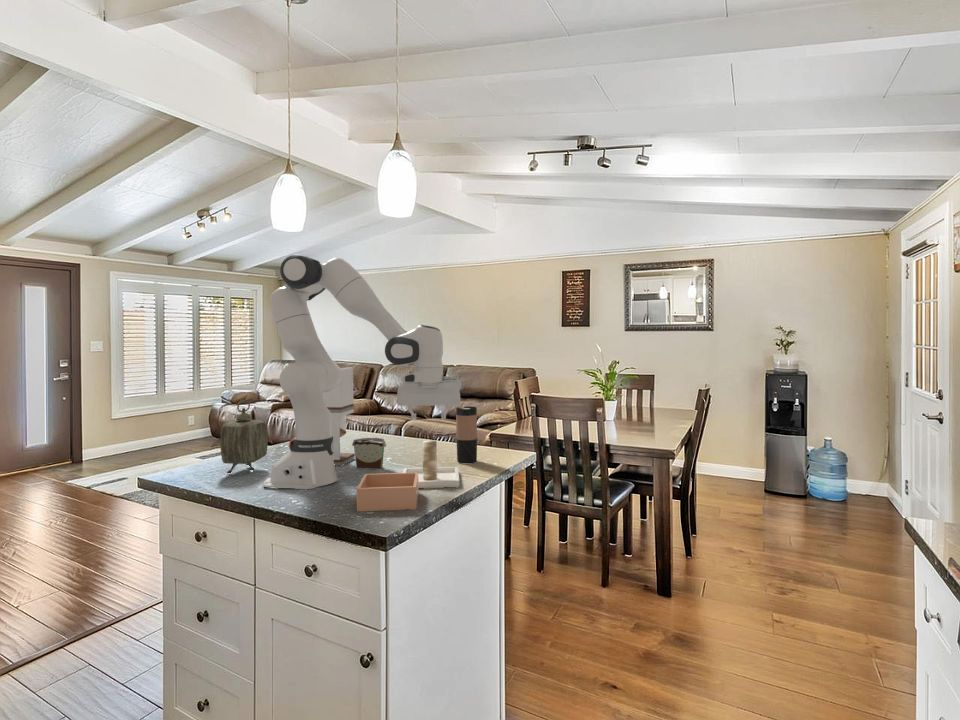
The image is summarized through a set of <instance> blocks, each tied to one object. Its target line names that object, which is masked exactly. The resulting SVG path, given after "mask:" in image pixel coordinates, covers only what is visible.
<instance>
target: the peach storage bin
mask: <svg viewBox="0 0 960 720" xmlns="http://www.w3.org/2000/svg"><path fill="white" fill-rule="evenodd" d="M419 493H420V492H419V480H418V473H403V472H390V473H389V472H385V473H365V474H364V475H363V477H362V478H361V481H360V482H359V484H358V485H357V487H356V512H373V511H375V512H377V511H378V512H379V511H380V510H381V511H404V510H405V509H410V510H417V507H418V501H419ZM405 511H406V510H405Z"/></svg>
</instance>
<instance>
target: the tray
mask: <svg viewBox="0 0 960 720" xmlns="http://www.w3.org/2000/svg"><path fill="white" fill-rule="evenodd" d="M402 473H418V480H419V488H424V489H445V488H444V487H456V488H460V476H459V475H460V474H459V467H458V466H437V479H436V480H431V481H428V480H424V479H423V467H404V468H403V470H402Z"/></svg>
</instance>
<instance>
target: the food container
mask: <svg viewBox="0 0 960 720" xmlns="http://www.w3.org/2000/svg"><path fill="white" fill-rule="evenodd" d="M351 446H352V447H353V449H354V453H355V459H354V460H355V467H356V469H358V468H368V469H367V470H379V469H381V470H383V465H384V453H385V448H386V447H387V444H386V440H385V439H384V438H381V437H380V438H379V437H362V438H356V439H353V441H352V444H351Z"/></svg>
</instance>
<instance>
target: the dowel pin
mask: <svg viewBox="0 0 960 720" xmlns="http://www.w3.org/2000/svg"><path fill="white" fill-rule="evenodd" d="M437 453H438V450H437V440H434V439H428V440H427V439H426V440H423V441H422V468H423V479H424V480H428V481H431V480H436V479H437V467H438V464H437V463H438V459H437V458H438V454H437Z"/></svg>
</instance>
